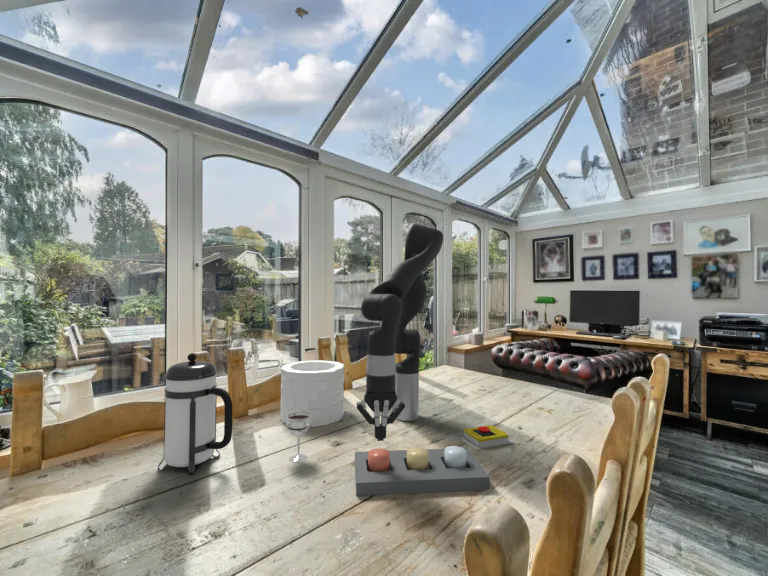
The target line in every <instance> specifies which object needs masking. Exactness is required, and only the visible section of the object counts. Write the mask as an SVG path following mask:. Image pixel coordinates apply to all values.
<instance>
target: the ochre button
mask: <svg viewBox="0 0 768 576" xmlns="http://www.w3.org/2000/svg"><path fill="white" fill-rule="evenodd" d="M406 450H407V470H427V469H428V459H429V452H428V451H427V450H426V448H423V447H421V446H420V447H419V446H414V447H409V448H408V449H406Z"/></svg>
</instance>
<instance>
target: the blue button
mask: <svg viewBox="0 0 768 576" xmlns="http://www.w3.org/2000/svg"><path fill="white" fill-rule="evenodd" d="M464 448H465V447H462V446H457V445H450V446H449V445H448V446H446V447H444V449H445V457H444V465H445V467H446V468H447V469H451V468H466V450H465V449H464Z"/></svg>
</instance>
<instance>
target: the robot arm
mask: <svg viewBox="0 0 768 576" xmlns="http://www.w3.org/2000/svg"><path fill="white" fill-rule="evenodd" d="M443 242H444V234H443V232H442V231H441V230H439V229H435V228H434V227H429V226H426V225H423V224H418V223H414V224H411V225H410V227H409V228H408V230H407V234H406V237H405V244H404V257H403V258H404V259H403V260H402V261H401V262H399V263H397V264H396V265H395V266H394V267H393V268H392V269H391V270H390V271H389V273H388V275H387V276H386V277H385V279H384V280H383V281H382V282H380V283H379V284H378V285H376V286H375V287H374V288H372V289H371V290H370V291H369V292H368V293H367V294H366V295H365V296H364V298H363V300H362V303H361V307H360V308H361V309H360V310H361V314H362V317H364V319H366V320H368V321H374V322H382V323H381V325H380V327H379V329H376V330H375V329H374V330H371V331H370V332H368V335H367V354H366V355H367V356H366V357H367V358H366V367H365V372H366V373H365V375H366V377H365V379H366V381H365V383H366V384H365V389H366V390H365V394H364V396H363V399H362V400H361V401H358V402H356V409H357V410H358V412H359V413H360V414H361V416H362V417H363V418H364V419H365V421H366V423H368V424H369V425H373V426H374V437H375V439H376V440H377V441H378V442H384V439H386V438H387V426H388V425H391V424H394V422H396V420H398V421H402V422H411V421H416V420H418V419H419V408H420V407H419V404H420V403H419V402H420V401H419V400H420V399H419V397H420V396H419V393H420V385H419V384H420V383H419V381H420V353H421V334H420V331H419V330H418V329H415V328H414V329H412V328H411V329H410V328H409V329H407V326H408V325H409V323H410V322H411V321H412V320H413V319H414V318H415V317H417V315H418V314H419V313H420V312H421V311H422V309H423V308H424V306H425V300H426V297H427V290H428V289H427V285H426V283H425V279H424V276H423V275H422V272H424V270H425V269H426V268H427V267H428V266H429V265H430V264H431V263H432V262H433V261H434V260H435V259H436V257H438V255H439V253H440V251H441V250H442V246H443ZM396 354H399V355H405V354H406V355H408V356H407V357H406V358H404V359H403V360H401V361H398V362H396V356H395V355H396ZM367 406H368V407H369V408H370V410H371V411H372V412H373V416H374V417H372V416H371V414H370V413H369V412H368V410H367ZM390 410H391V412H390ZM389 412H390V414H389ZM380 413H381V416H380ZM380 417H381V418H380Z"/></svg>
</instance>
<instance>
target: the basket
mask: <svg viewBox="0 0 768 576" xmlns="http://www.w3.org/2000/svg"><path fill="white" fill-rule="evenodd" d="M344 365H345V364H344V363H342V362H338V361H334V360H333V361H331V360H323V359H322V360H321V359H319V360H317V359H316V360H301V361H293V362H290V363H285V364H284V365H283V366H281V368H280V379H281V380H280V382H281V383H280V384H281V385H280V419H281V418H282V419H281V421H283V422H282V423H284V422H285V423H284V424H287V420H288V418H287V415H289V414H291V413H294V412H308V413H310V414H311V416H310V419H311V425H310V428H312V427H319V426H327V425H330V423H331V424H332V423H335V421H336V422H337V421H340V420H341V419H342V418H343V416H344V414H345V412H344V411H345V407H344V399H345V390H344V386H345V384H344V383H345V373H344V369H345V368H344V367H345V366H344Z"/></svg>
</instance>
